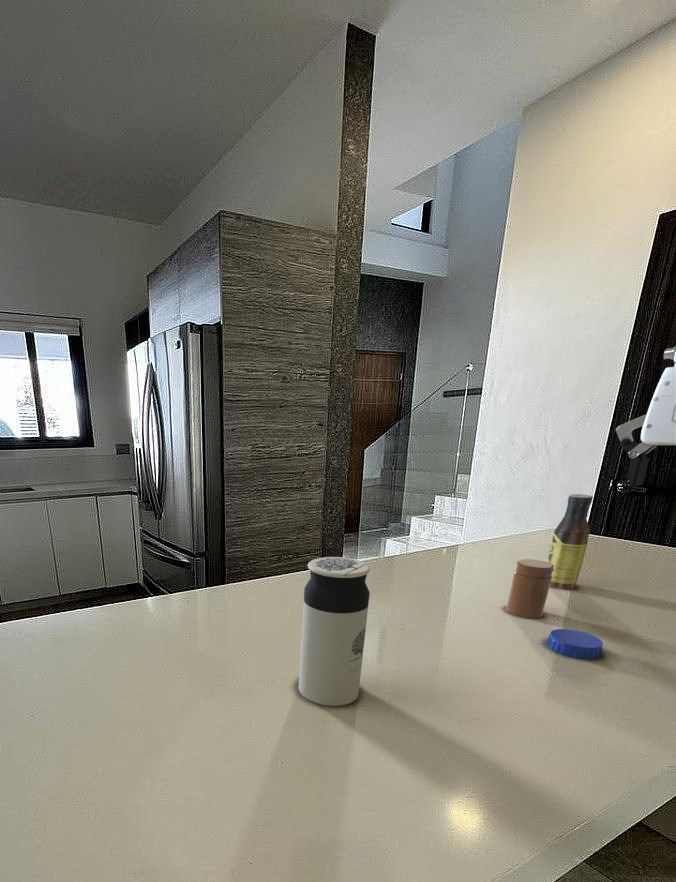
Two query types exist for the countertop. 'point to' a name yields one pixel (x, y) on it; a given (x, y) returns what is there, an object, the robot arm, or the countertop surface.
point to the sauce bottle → (570, 542)
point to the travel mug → (333, 630)
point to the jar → (529, 588)
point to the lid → (575, 644)
